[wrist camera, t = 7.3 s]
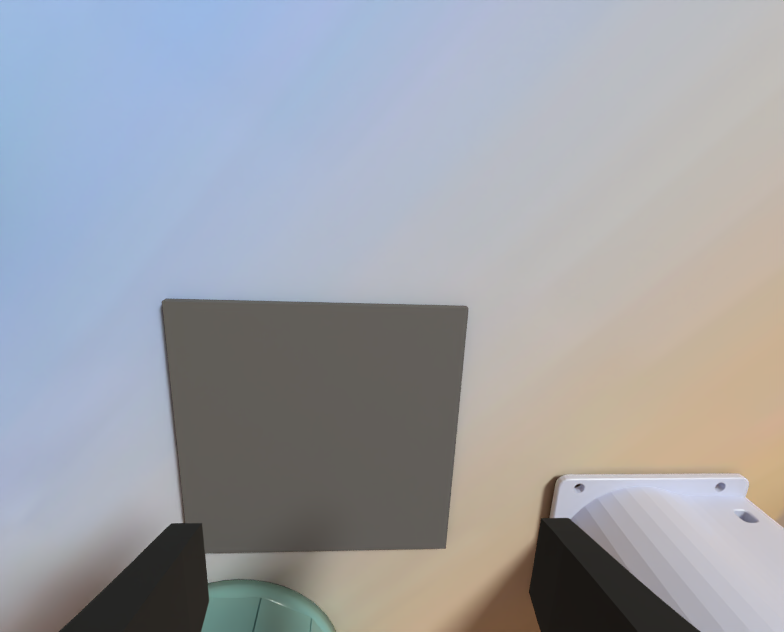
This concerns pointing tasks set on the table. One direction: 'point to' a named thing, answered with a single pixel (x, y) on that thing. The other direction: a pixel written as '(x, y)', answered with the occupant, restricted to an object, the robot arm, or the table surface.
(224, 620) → the bowl
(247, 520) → the mat
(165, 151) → the table surface
